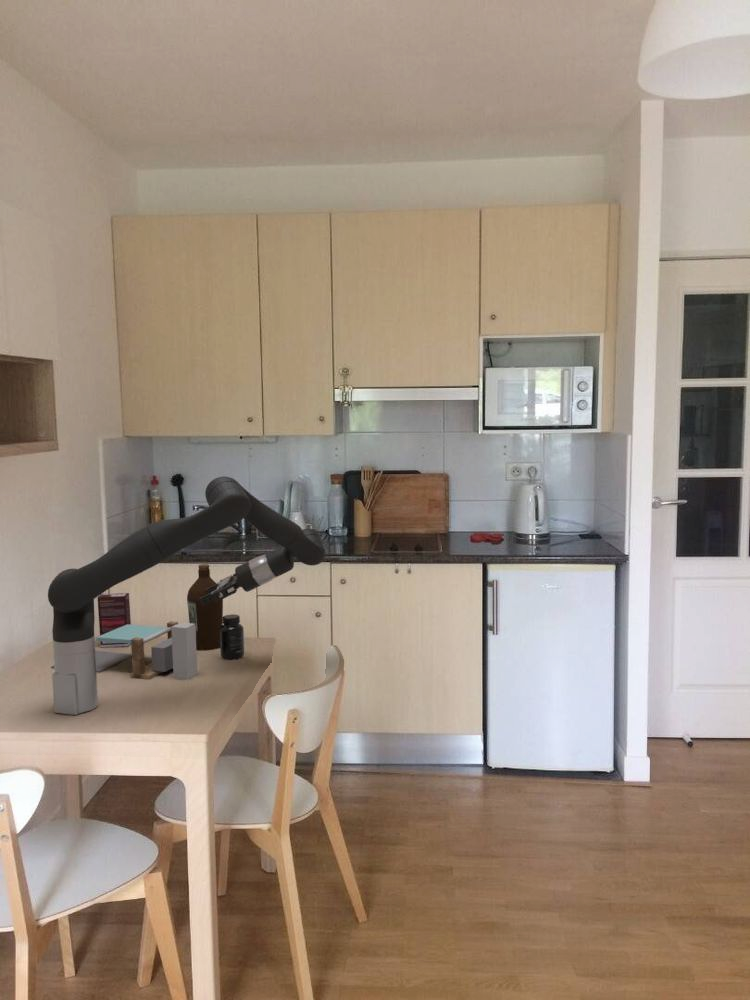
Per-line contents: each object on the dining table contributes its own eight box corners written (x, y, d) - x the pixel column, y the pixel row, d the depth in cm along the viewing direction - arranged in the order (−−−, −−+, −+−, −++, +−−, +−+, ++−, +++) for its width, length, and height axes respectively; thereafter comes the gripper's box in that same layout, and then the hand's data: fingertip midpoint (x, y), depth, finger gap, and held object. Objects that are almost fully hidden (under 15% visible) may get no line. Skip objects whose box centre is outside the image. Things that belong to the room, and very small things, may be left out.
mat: (99, 672, 211) (99, 671, 211) (51, 667, 216) (51, 666, 216) (134, 655, 226) (134, 654, 226) (88, 651, 231) (88, 650, 231)
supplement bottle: (216, 656, 224) (214, 616, 222) (237, 651, 228) (235, 612, 227) (228, 661, 218) (226, 620, 217) (249, 656, 223) (247, 616, 222)
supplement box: (132, 642, 240) (129, 592, 239) (128, 646, 235) (125, 595, 234) (104, 643, 240) (101, 593, 238) (99, 647, 235) (96, 596, 233)
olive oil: (219, 639, 242) (215, 560, 239) (229, 647, 233) (226, 565, 230) (185, 644, 237) (181, 564, 234) (194, 653, 228) (190, 569, 225)
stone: (188, 679, 204) (186, 628, 202) (173, 678, 205) (171, 626, 204) (197, 674, 208) (195, 623, 206) (182, 673, 209) (180, 622, 208)
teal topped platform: (191, 657, 219) (190, 628, 218) (164, 672, 206) (162, 642, 205) (128, 651, 226) (127, 624, 225) (97, 666, 212) (96, 636, 211)
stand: (188, 658, 223) (186, 622, 222) (149, 679, 204) (148, 640, 203) (170, 656, 224) (168, 621, 223) (130, 677, 206) (128, 639, 205)
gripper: (252, 554, 217) (201, 579, 218) (247, 567, 203) (192, 593, 204) (264, 578, 219) (213, 602, 219) (259, 591, 205) (205, 617, 205)
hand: (203, 598), depth 211 cm, fingers open, 8 cm apart
